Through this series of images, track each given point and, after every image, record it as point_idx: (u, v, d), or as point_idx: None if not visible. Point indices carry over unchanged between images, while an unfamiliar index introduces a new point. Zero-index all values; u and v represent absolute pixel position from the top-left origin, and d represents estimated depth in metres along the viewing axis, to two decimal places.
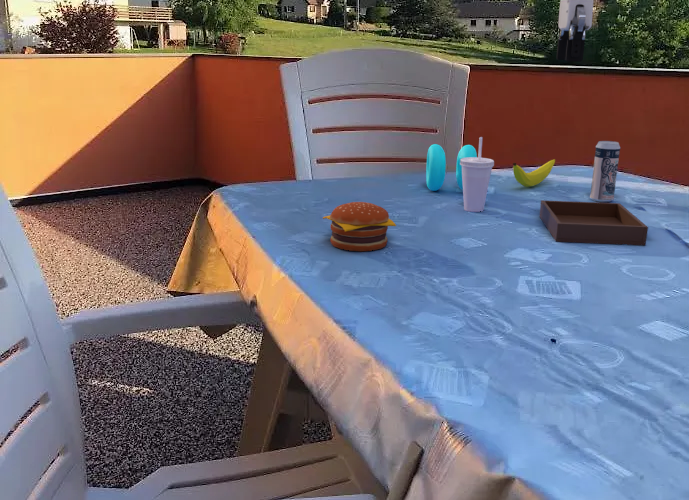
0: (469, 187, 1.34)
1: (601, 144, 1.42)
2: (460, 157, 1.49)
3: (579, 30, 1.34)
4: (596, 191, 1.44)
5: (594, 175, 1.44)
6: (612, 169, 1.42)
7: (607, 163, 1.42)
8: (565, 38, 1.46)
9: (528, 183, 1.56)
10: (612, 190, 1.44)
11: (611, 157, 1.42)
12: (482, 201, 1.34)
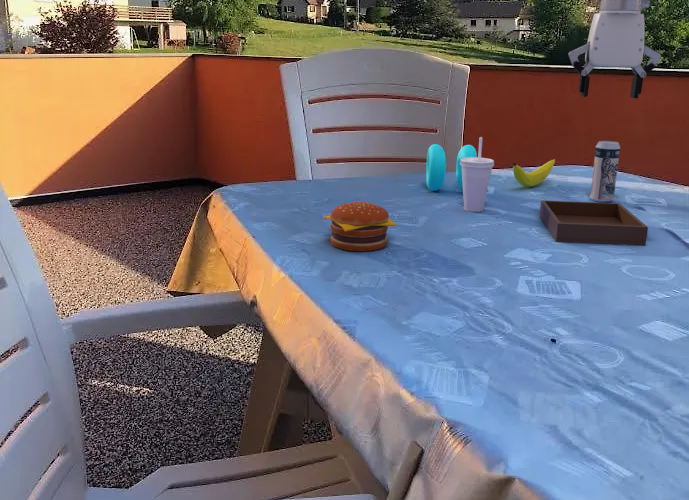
0: (469, 187, 1.34)
1: (601, 144, 1.42)
2: (460, 157, 1.49)
3: None
4: (596, 191, 1.44)
5: (594, 175, 1.44)
6: (612, 169, 1.42)
7: (607, 163, 1.42)
8: None
9: (528, 183, 1.56)
10: (612, 190, 1.44)
11: (611, 157, 1.42)
12: (482, 201, 1.34)
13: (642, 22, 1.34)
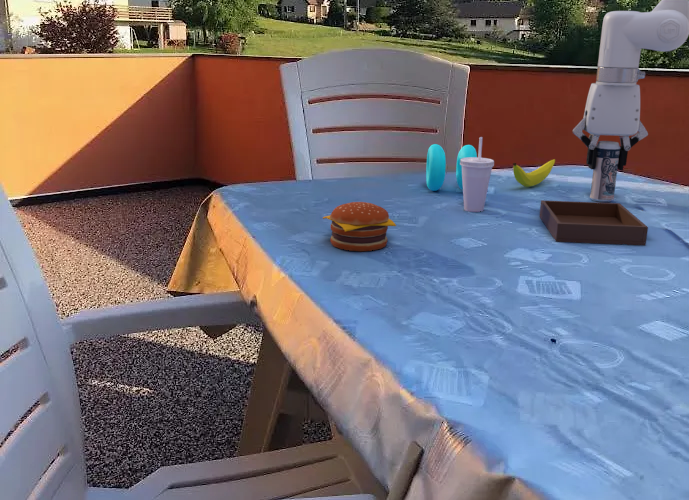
0: (469, 187, 1.34)
1: (601, 144, 1.42)
2: (460, 157, 1.49)
3: None
4: (596, 191, 1.44)
5: (594, 175, 1.44)
6: (612, 169, 1.42)
7: (607, 163, 1.42)
8: None
9: (528, 183, 1.56)
10: (612, 190, 1.44)
11: (611, 157, 1.42)
12: (482, 201, 1.34)
13: (638, 93, 1.38)
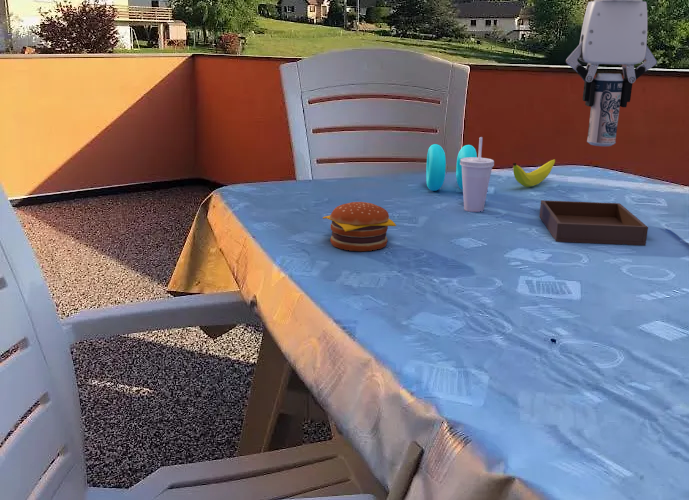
0: (469, 187, 1.34)
1: (600, 75, 1.18)
2: (460, 157, 1.49)
3: None
4: (594, 132, 1.21)
5: (592, 114, 1.21)
6: (613, 105, 1.19)
7: (607, 98, 1.18)
8: None
9: (528, 183, 1.56)
10: (613, 131, 1.20)
11: (612, 91, 1.18)
12: (482, 201, 1.34)
13: (644, 11, 1.14)
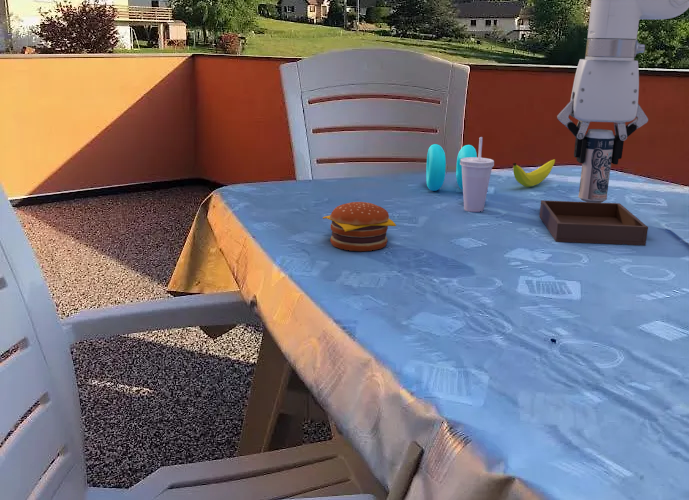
0: (469, 187, 1.34)
1: (591, 132, 1.18)
2: (460, 157, 1.49)
3: None
4: (585, 189, 1.20)
5: (583, 170, 1.20)
6: (605, 163, 1.18)
7: (599, 155, 1.17)
8: None
9: (528, 183, 1.56)
10: (605, 188, 1.19)
11: (603, 148, 1.17)
12: (482, 201, 1.34)
13: (636, 70, 1.13)
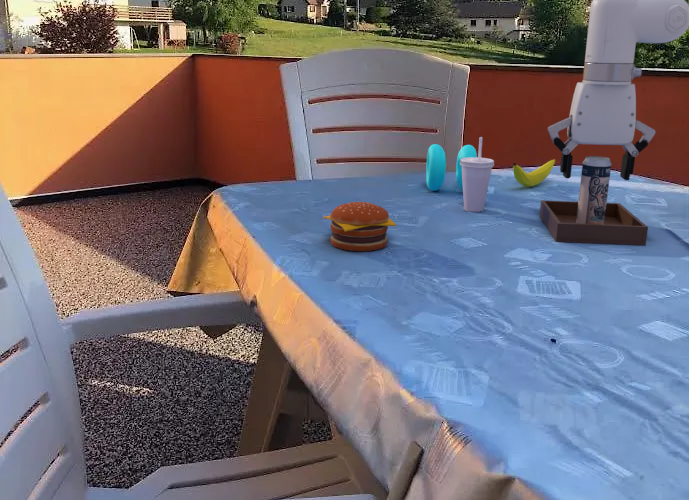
0: (469, 187, 1.34)
1: (589, 160, 1.19)
2: (460, 157, 1.49)
3: None
4: (583, 215, 1.21)
5: (580, 197, 1.21)
6: (602, 190, 1.19)
7: (596, 183, 1.19)
8: None
9: (528, 183, 1.56)
10: (602, 215, 1.21)
11: (600, 176, 1.18)
12: (482, 201, 1.34)
13: (633, 94, 1.14)
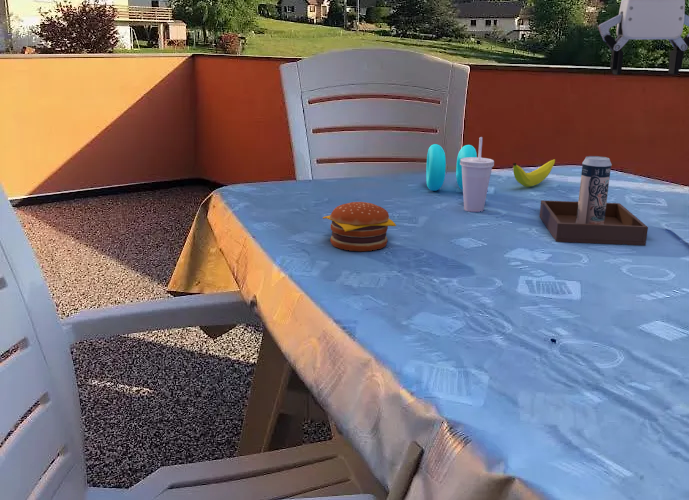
0: (469, 187, 1.34)
1: (588, 160, 1.19)
2: (460, 157, 1.49)
3: None
4: (583, 215, 1.21)
5: (580, 197, 1.21)
6: (602, 190, 1.19)
7: (596, 183, 1.19)
8: None
9: (528, 183, 1.56)
10: (602, 215, 1.21)
11: (600, 176, 1.18)
12: (482, 201, 1.34)
13: None
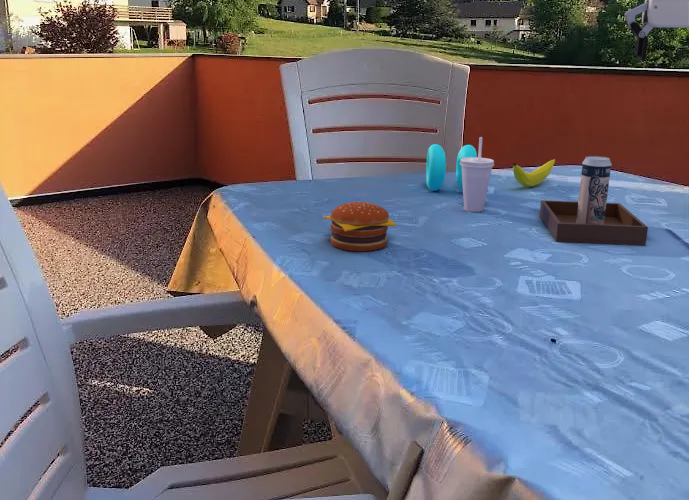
0: (469, 187, 1.34)
1: (588, 160, 1.19)
2: (460, 157, 1.49)
3: None
4: (583, 215, 1.21)
5: (580, 197, 1.21)
6: (602, 190, 1.19)
7: (596, 183, 1.19)
8: None
9: (528, 183, 1.56)
10: (602, 215, 1.21)
11: (600, 176, 1.18)
12: (482, 201, 1.34)
13: None
